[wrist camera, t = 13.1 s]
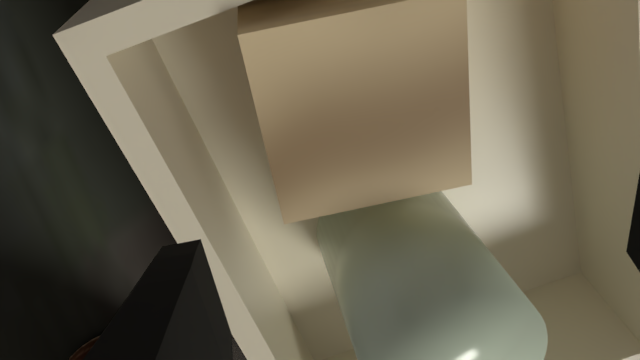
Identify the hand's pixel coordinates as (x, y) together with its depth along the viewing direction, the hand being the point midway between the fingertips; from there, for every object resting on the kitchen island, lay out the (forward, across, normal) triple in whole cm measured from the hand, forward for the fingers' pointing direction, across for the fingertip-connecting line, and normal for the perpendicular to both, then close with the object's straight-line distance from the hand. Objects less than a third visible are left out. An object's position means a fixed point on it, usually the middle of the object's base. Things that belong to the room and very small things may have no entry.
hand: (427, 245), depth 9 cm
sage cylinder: (+10, -1, +6) cm, 12 cm away
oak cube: (+10, 0, 0) cm, 10 cm away
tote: (+10, -2, +4) cm, 11 cm away
